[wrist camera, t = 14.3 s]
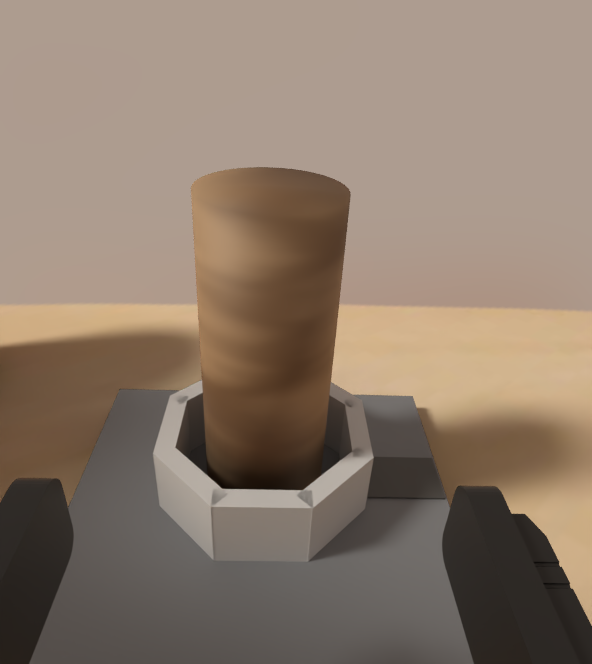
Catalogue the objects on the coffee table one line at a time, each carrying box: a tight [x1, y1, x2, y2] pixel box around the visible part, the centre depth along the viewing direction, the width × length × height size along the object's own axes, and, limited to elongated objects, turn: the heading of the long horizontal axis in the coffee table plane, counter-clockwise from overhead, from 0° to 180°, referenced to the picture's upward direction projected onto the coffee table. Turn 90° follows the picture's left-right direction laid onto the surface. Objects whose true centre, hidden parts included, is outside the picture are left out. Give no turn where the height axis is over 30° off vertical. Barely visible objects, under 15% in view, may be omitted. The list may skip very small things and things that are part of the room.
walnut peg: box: [191, 167, 350, 490], centre depth 20 cm, size 5×5×13 cm
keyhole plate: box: [29, 380, 474, 664], centre depth 22 cm, size 16×14×4 cm
